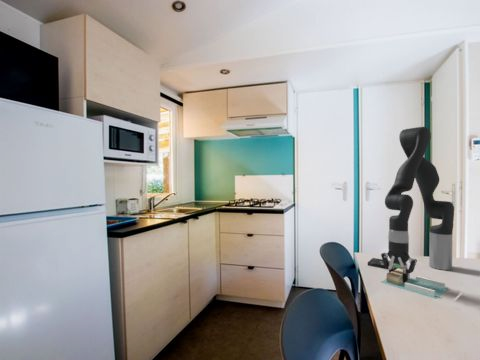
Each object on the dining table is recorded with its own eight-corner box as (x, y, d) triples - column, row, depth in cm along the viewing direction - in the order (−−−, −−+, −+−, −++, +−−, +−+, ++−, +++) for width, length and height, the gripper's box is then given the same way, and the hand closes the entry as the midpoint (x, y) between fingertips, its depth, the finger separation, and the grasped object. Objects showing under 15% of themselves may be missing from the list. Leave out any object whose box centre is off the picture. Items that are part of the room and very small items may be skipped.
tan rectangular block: (398, 275, 122) (398, 267, 122) (409, 278, 119) (409, 270, 119) (386, 282, 115) (386, 273, 115) (397, 285, 111) (398, 276, 111)
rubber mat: (396, 274, 125) (396, 273, 125) (449, 289, 109) (449, 287, 109) (379, 283, 115) (379, 282, 115) (435, 300, 99) (435, 298, 99)
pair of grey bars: (417, 280, 117) (417, 275, 117) (445, 287, 109) (445, 283, 109) (404, 288, 109) (404, 283, 109) (433, 296, 101) (434, 291, 101)
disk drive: (367, 267, 137) (401, 274, 127) (367, 262, 137) (400, 268, 127) (372, 262, 145) (404, 268, 135) (372, 257, 145) (404, 262, 135)
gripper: (420, 242, 113) (420, 282, 113) (385, 236, 125) (385, 273, 125) (413, 244, 109) (413, 287, 109) (377, 238, 120) (377, 276, 120)
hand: (398, 279), depth 117 cm, fingers closed on tan rectangular block, 4 cm apart
